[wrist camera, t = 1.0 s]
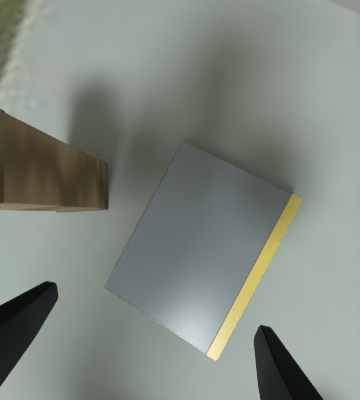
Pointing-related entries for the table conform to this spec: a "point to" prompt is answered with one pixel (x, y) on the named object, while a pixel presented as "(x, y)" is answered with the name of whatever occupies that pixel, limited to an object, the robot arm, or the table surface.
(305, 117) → the table surface
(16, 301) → the robot arm
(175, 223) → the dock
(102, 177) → the brown block
